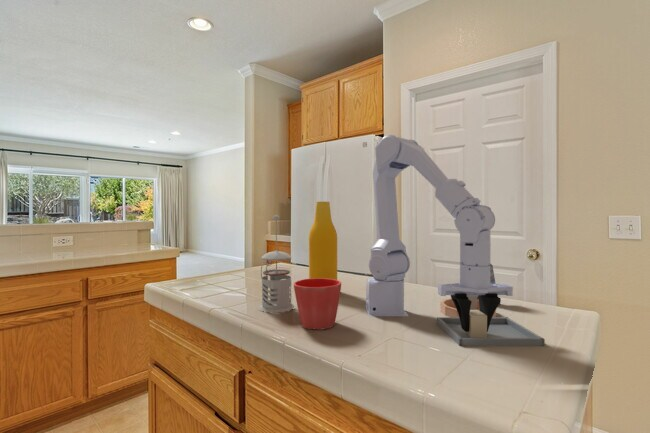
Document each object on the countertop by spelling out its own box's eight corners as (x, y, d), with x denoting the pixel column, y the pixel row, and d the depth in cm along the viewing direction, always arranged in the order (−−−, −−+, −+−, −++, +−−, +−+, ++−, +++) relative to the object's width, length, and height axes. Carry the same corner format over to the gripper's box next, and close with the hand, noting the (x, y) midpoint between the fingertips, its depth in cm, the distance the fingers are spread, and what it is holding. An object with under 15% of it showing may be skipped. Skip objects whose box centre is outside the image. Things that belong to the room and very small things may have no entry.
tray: (459, 348, 63) (459, 339, 63) (436, 325, 76) (436, 317, 76) (544, 348, 63) (544, 339, 63) (507, 325, 76) (507, 317, 76)
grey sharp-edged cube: (460, 312, 84) (460, 295, 84) (455, 309, 87) (455, 292, 87) (476, 312, 84) (476, 295, 84) (471, 309, 87) (471, 292, 87)
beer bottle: (340, 289, 111) (340, 201, 111) (332, 296, 103) (332, 201, 102) (314, 287, 114) (314, 202, 114) (304, 294, 105) (304, 201, 105)
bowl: (452, 324, 77) (452, 311, 77) (434, 308, 90) (434, 298, 90) (506, 324, 77) (506, 311, 77) (481, 308, 90) (481, 297, 90)
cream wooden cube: (487, 337, 67) (487, 315, 67) (470, 337, 67) (471, 315, 67) (477, 330, 71) (478, 309, 71) (462, 330, 71) (462, 309, 71)
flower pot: (294, 317, 82) (293, 278, 82) (338, 316, 83) (338, 277, 83) (293, 333, 72) (293, 287, 72) (344, 331, 73) (344, 286, 72)
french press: (270, 315, 84) (270, 215, 84) (248, 305, 93) (247, 215, 92) (302, 308, 90) (301, 214, 90) (278, 299, 99) (277, 214, 99)
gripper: (446, 267, 65) (446, 337, 65) (521, 267, 65) (521, 337, 65) (434, 262, 72) (434, 325, 72) (502, 261, 72) (502, 324, 72)
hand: (474, 330), depth 69 cm, fingers open, 3 cm apart
